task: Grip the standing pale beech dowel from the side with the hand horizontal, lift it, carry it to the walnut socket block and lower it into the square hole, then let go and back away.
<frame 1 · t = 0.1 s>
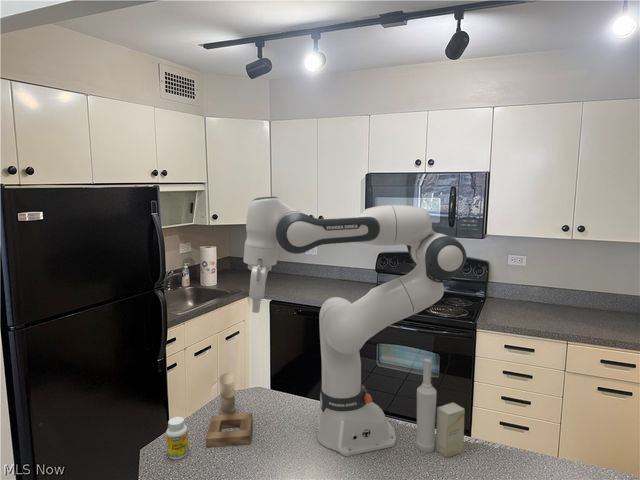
hand: (256, 307, 113), 39 cm above the countertop, tool pointing down, fingers open, 8 cm apart
bottle: (425, 448, 115), on the countertop
dowel: (228, 412, 134), on the countertop
socket block: (230, 433, 122), on the countertop
skincare box: (449, 451, 113), on the countertop
supplement bottle: (178, 454, 113), on the countertop
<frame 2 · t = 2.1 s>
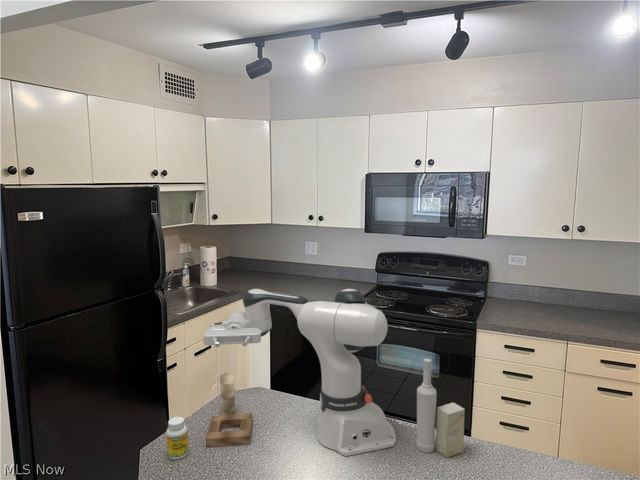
hand: (230, 344, 144), 18 cm above the countertop, tool horizontal, fingers open, 8 cm apart
nothing on the countertop moved.
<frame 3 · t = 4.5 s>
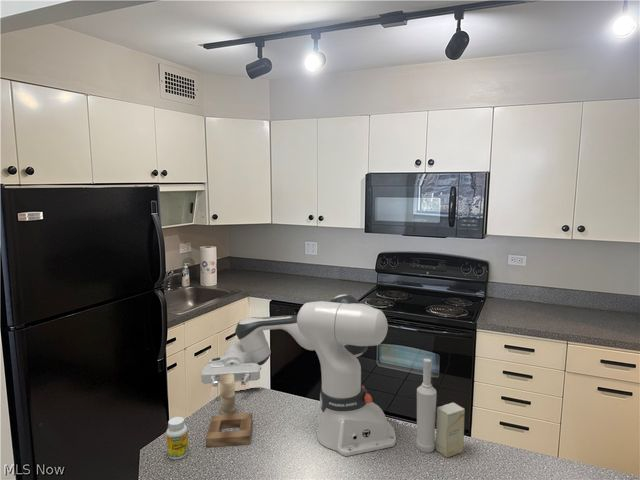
hand: (229, 383, 140), 6 cm above the countertop, tool horizontal, fingers open, 8 cm apart
nothing on the countertop moved.
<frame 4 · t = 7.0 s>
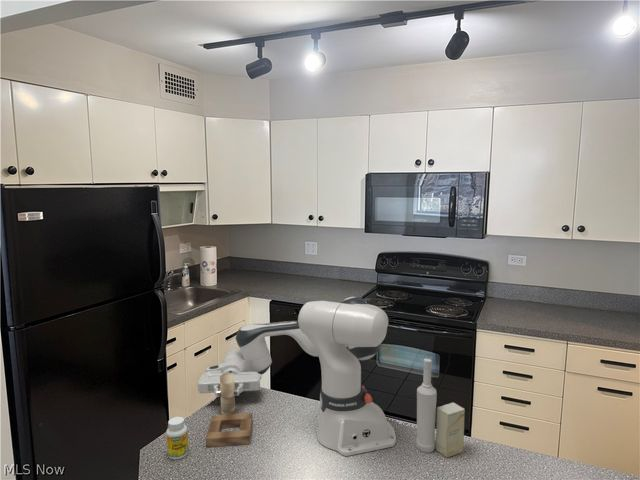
hand: (227, 394, 132), 7 cm above the countertop, tool horizontal, fingers closed on dowel, 4 cm apart
dowel: (228, 412, 134), on the countertop, touching gripper
everything else where it was.
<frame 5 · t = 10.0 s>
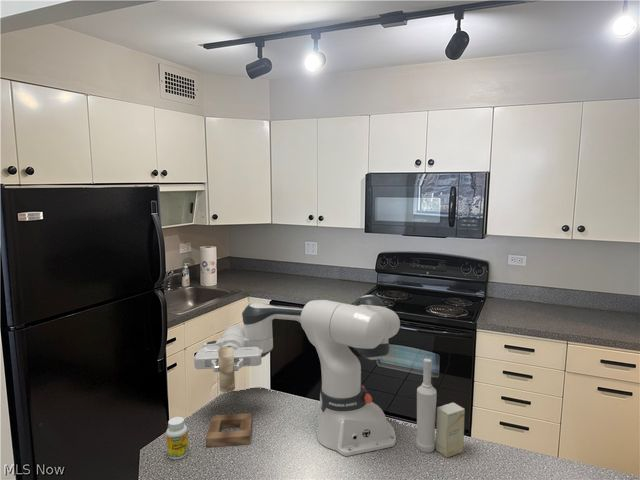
hand: (226, 369, 122), 19 cm above the countertop, tool horizontal, fingers closed on dowel, 4 cm apart
dowel: (227, 388, 124), point 12 cm above the countertop, touching gripper
everything else where it was.
when the fingers open (8 cm above the countertop, at t = 13.4 s): dowel drops 1 cm, resting in socket block.
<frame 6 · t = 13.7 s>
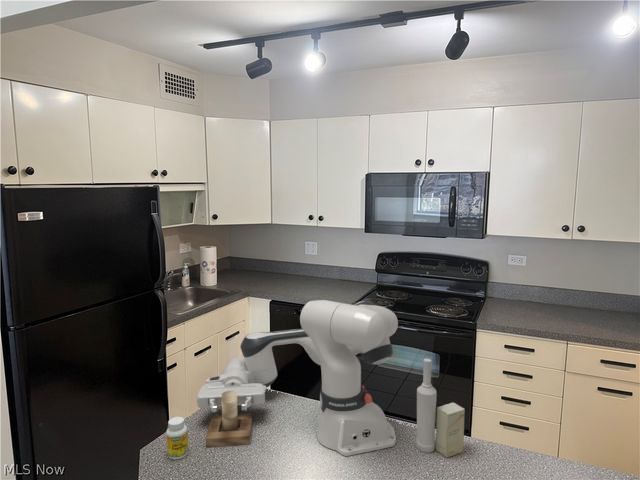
hand: (229, 409, 120), 8 cm above the countertop, tool horizontal, fingers open, 7 cm apart
dowel: (230, 433, 122), resting in socket block
everything else where it was.
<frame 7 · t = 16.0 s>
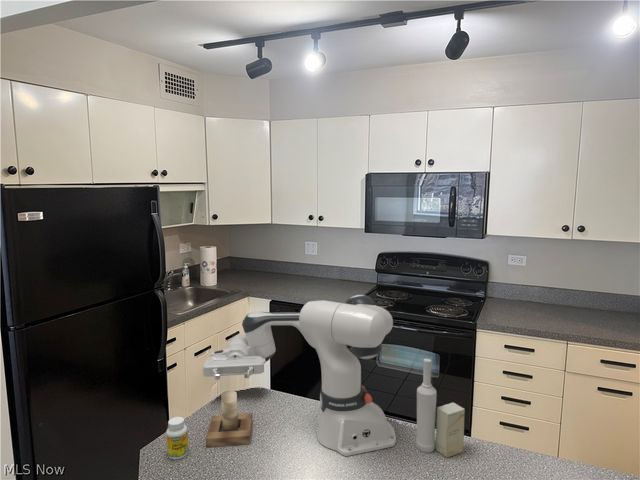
hand: (231, 376, 134), 11 cm above the countertop, tool horizontal, fingers open, 8 cm apart
nothing on the countertop moved.
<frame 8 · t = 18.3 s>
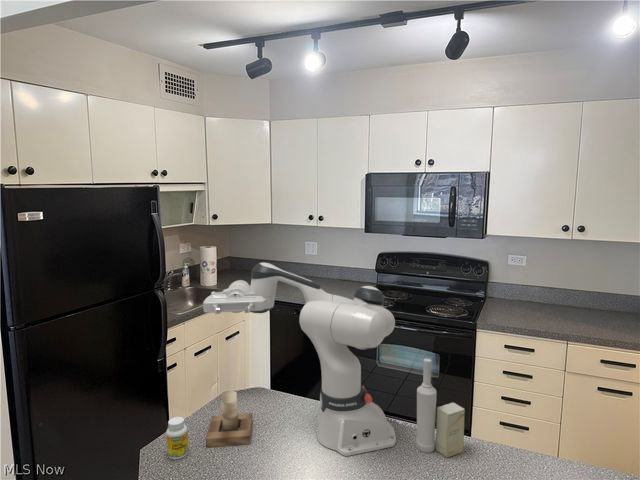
hand: (232, 311, 134), 32 cm above the countertop, tool horizontal, fingers open, 8 cm apart
nothing on the countertop moved.
at the end: dowel 0.0 cm off-centre on the socket block, point 0.0 cm above the socket block's base; dowel tilted 0°; the gripper is holding nothing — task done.
